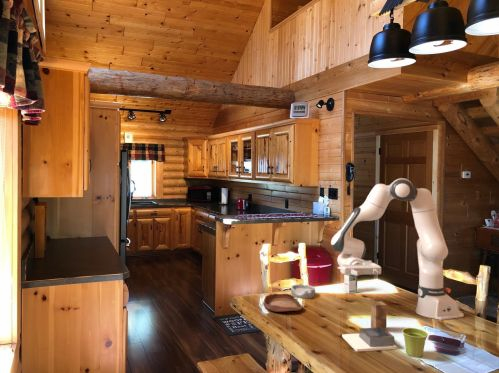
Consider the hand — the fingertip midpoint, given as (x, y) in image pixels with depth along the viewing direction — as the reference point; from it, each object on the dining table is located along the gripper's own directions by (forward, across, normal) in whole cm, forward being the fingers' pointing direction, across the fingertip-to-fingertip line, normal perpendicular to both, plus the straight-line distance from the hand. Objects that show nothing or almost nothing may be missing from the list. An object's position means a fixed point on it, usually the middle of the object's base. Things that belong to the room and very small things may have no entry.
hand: (367, 273), depth 195 cm
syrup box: (-46, +12, +23) cm, 53 cm away
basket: (-23, -35, +24) cm, 49 cm away
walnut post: (+12, 0, +22) cm, 26 cm away
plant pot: (+38, +2, +22) cm, 44 cm away
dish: (-44, -18, +24) cm, 53 cm away
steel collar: (+26, -8, +22) cm, 35 cm away
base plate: (+25, -11, +22) cm, 35 cm away
